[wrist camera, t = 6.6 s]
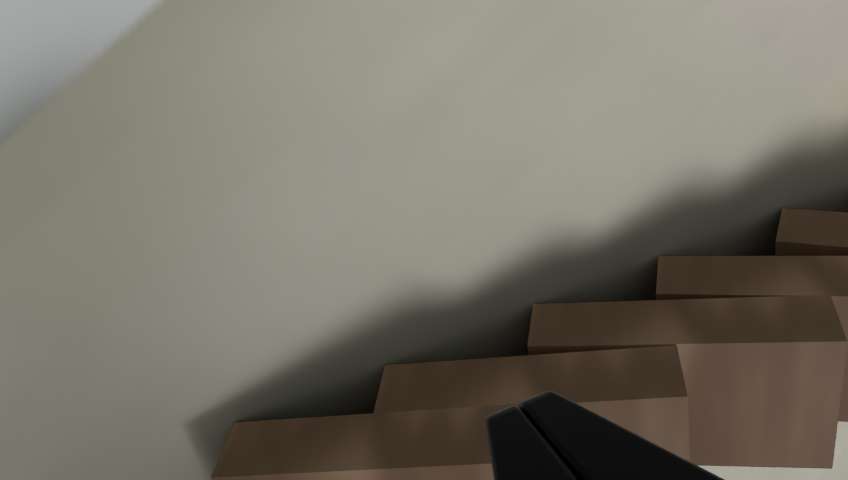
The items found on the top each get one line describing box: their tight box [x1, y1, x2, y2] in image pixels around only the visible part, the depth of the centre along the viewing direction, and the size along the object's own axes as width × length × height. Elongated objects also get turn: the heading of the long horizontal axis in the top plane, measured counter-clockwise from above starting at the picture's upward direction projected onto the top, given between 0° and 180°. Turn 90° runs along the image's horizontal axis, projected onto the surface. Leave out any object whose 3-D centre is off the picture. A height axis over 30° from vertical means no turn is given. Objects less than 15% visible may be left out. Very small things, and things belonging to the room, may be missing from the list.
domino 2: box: [373, 345, 690, 462], centre depth 23 cm, size 2×5×8 cm
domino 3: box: [527, 295, 847, 468], centre depth 24 cm, size 2×5×8 cm
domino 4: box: [656, 256, 848, 422], centre depth 25 cm, size 2×5×8 cm
